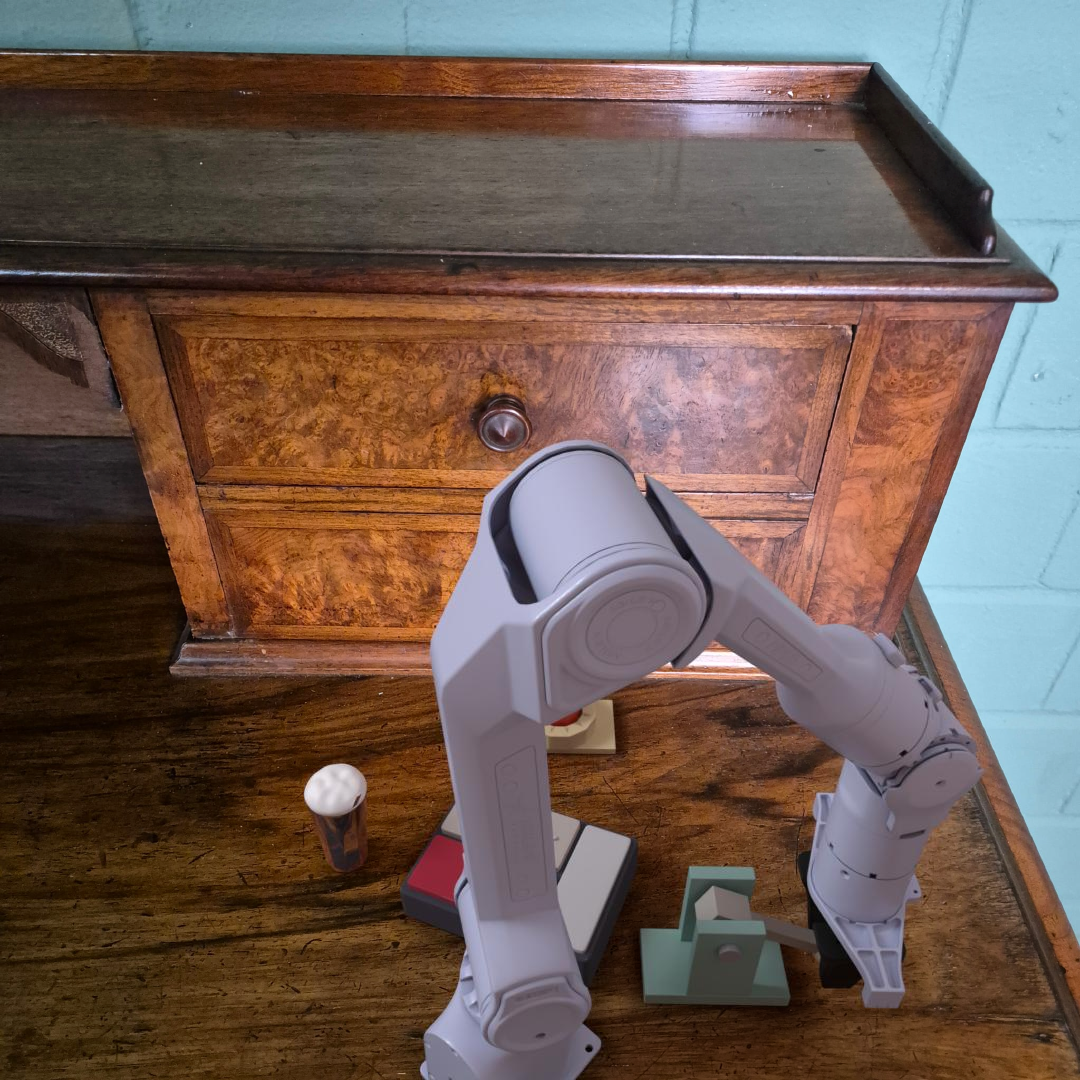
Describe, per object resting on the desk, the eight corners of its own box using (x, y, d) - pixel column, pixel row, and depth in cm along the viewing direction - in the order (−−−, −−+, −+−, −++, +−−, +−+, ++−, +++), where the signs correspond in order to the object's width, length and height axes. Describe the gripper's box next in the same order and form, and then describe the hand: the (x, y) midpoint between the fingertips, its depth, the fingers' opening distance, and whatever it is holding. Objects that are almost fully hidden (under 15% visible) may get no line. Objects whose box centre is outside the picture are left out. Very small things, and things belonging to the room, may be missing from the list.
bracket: (773, 933, 70) (793, 861, 65) (789, 1013, 65) (812, 942, 60) (638, 930, 70) (647, 858, 65) (644, 1011, 65) (655, 939, 60)
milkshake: (349, 897, 72) (333, 814, 66) (306, 856, 75) (288, 773, 69) (395, 860, 75) (383, 776, 69) (352, 821, 78) (338, 738, 72)
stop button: (579, 727, 84) (580, 713, 83) (538, 726, 84) (539, 712, 83) (578, 697, 87) (579, 683, 86) (539, 697, 87) (539, 683, 86)
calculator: (464, 775, 77) (640, 831, 72) (468, 810, 80) (638, 867, 74) (395, 884, 69) (588, 957, 64) (402, 919, 71) (588, 992, 66)
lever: (833, 943, 68) (859, 922, 67) (843, 984, 66) (870, 963, 64) (691, 900, 65) (714, 877, 64) (696, 941, 63) (720, 918, 61)
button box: (615, 756, 84) (617, 737, 82) (502, 754, 84) (501, 735, 82) (611, 703, 89) (613, 683, 88) (505, 701, 89) (505, 682, 88)
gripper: (978, 951, 53) (918, 1067, 61) (901, 751, 65) (859, 871, 73) (852, 949, 53) (808, 1065, 61) (798, 749, 65) (767, 869, 73)
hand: (829, 960), depth 67 cm, fingers closed on lever, 3 cm apart
